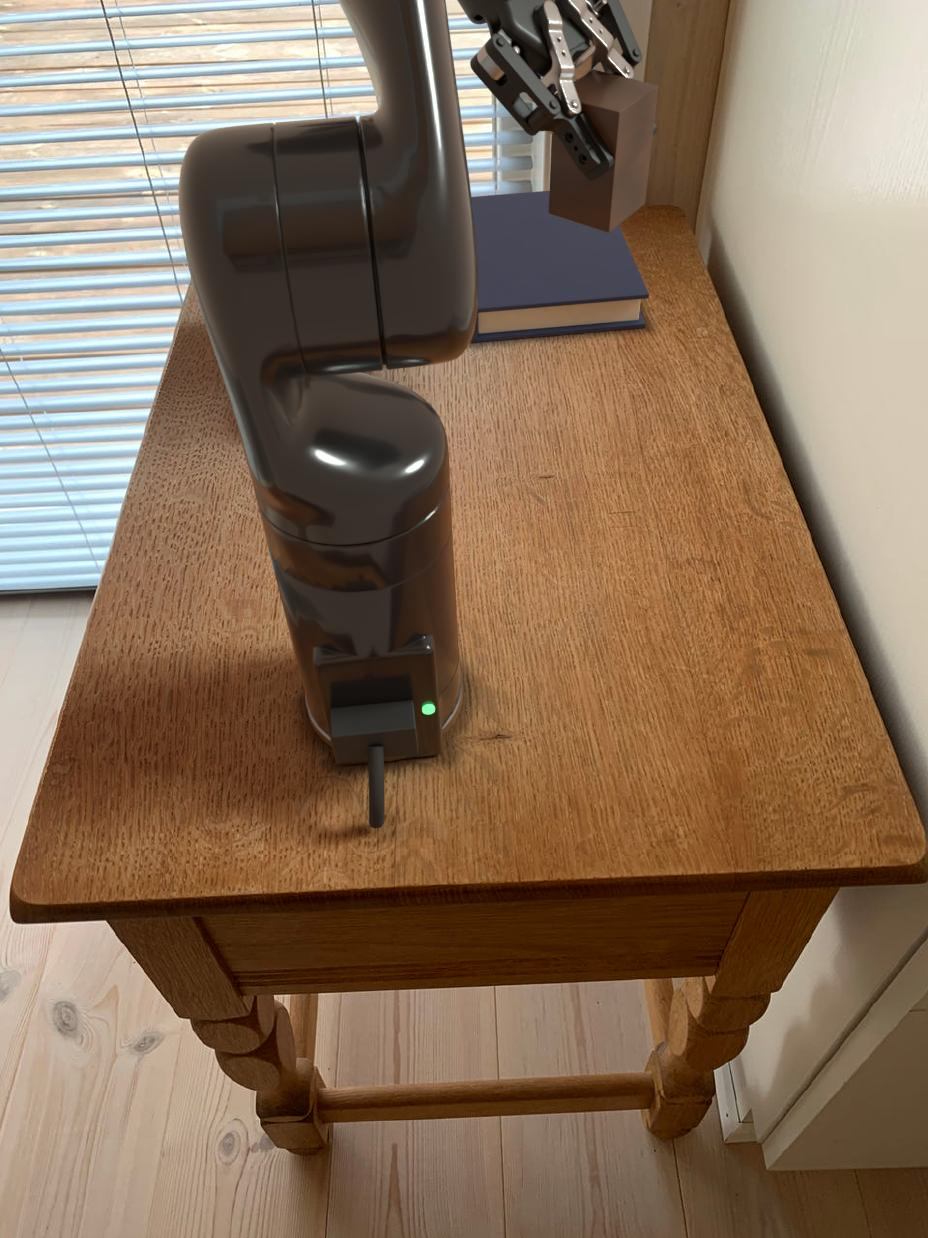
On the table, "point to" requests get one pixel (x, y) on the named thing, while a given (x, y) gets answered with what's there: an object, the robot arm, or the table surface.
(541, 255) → the book
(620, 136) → the walnut block
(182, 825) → the table surface
